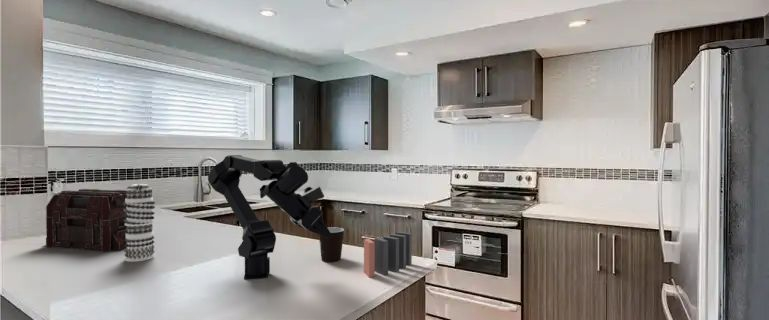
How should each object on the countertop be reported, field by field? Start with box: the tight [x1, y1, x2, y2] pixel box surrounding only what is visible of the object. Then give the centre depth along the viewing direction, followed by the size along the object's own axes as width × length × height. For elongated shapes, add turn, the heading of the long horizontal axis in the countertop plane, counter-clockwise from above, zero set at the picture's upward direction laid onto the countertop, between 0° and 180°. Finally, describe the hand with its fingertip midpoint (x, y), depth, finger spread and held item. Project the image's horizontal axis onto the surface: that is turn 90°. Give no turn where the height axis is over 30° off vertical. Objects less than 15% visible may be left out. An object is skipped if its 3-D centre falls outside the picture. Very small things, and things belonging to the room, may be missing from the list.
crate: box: [45, 188, 127, 253], centre depth 150 cm, size 35×19×21 cm, turn 76°
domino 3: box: [382, 235, 400, 273], centre depth 118 cm, size 2×5×10 cm, turn 51°
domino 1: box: [363, 238, 375, 278], centre depth 113 cm, size 2×5×10 cm, turn 20°
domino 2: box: [373, 237, 389, 276], centre depth 115 cm, size 2×5×10 cm, turn 34°
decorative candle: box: [123, 183, 156, 263], centre depth 130 cm, size 9×9×25 cm
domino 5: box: [395, 231, 413, 266], centre depth 125 cm, size 2×5×10 cm, turn 61°
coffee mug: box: [318, 226, 345, 263], centre depth 130 cm, size 12×9×10 cm
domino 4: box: [389, 233, 407, 270], centre depth 121 cm, size 2×5×10 cm, turn 60°
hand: (326, 235), depth 110 cm, fingers open, 9 cm apart
